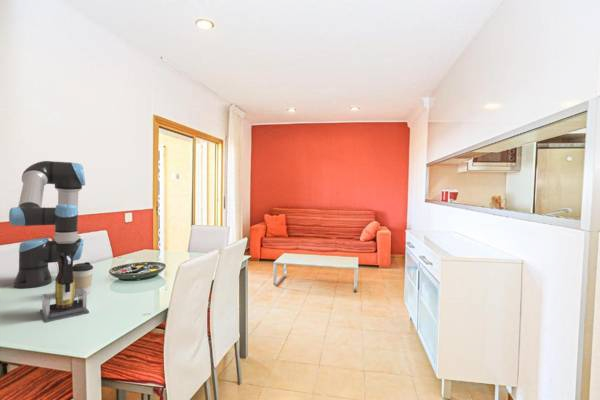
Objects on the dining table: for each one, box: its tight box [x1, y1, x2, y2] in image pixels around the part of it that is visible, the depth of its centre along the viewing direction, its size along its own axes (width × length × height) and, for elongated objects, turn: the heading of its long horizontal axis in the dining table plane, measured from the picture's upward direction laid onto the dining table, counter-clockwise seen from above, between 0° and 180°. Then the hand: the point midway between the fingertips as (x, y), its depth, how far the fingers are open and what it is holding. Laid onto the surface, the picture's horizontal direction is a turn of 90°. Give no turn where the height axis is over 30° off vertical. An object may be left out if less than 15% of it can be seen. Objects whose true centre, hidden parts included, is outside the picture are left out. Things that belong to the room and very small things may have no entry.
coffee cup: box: [73, 262, 94, 298], centre depth 150 cm, size 9×9×15 cm
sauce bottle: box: [55, 260, 75, 308], centre depth 129 cm, size 6×6×20 cm
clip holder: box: [39, 288, 90, 323], centre depth 129 cm, size 14×14×8 cm
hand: (64, 297), depth 129 cm, fingers closed on sauce bottle, 6 cm apart
